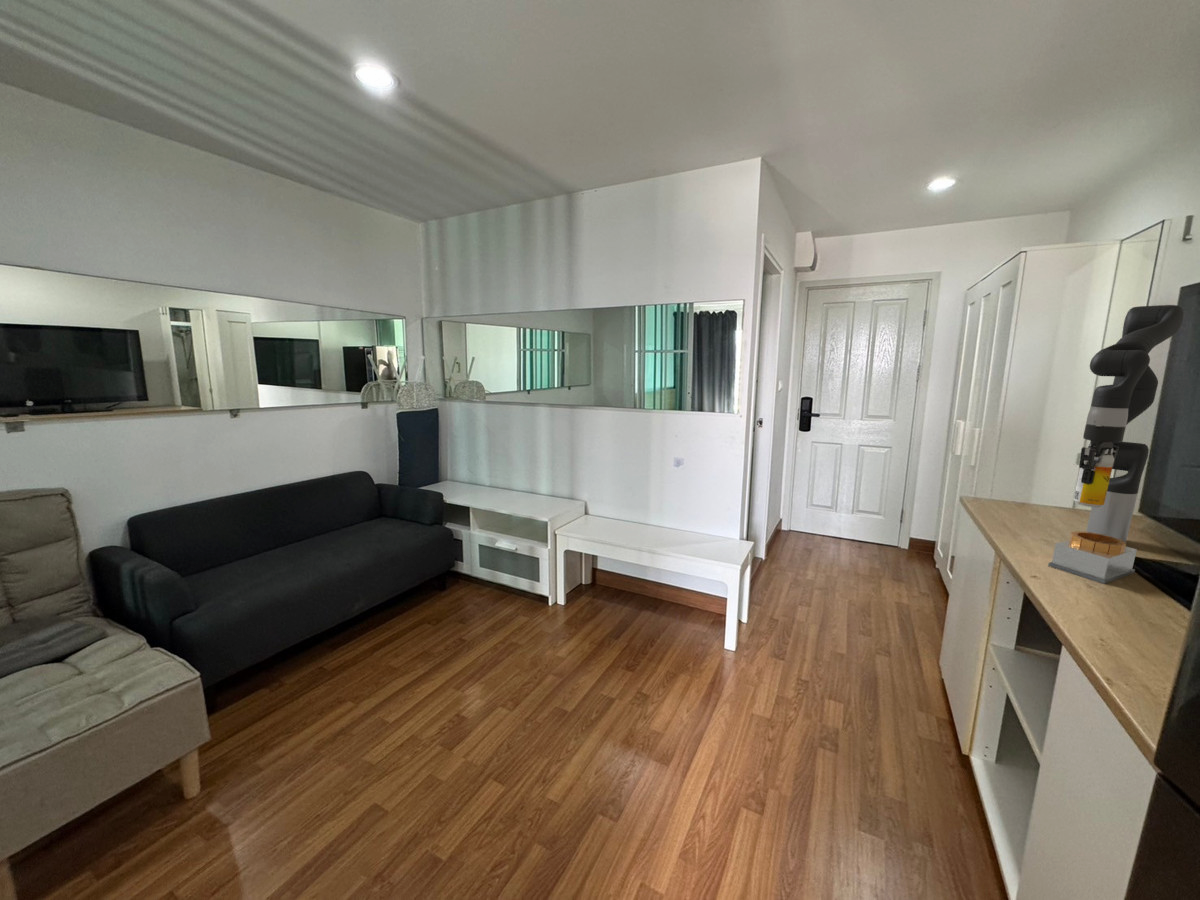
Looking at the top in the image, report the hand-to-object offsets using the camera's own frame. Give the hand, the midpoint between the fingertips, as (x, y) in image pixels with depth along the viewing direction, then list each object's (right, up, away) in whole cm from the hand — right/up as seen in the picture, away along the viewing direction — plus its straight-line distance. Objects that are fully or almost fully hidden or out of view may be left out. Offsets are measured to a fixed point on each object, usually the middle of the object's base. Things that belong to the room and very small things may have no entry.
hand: (1092, 482), depth 131 cm
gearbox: (+2, -25, +2) cm, 25 cm away
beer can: (0, -7, +1) cm, 7 cm away
